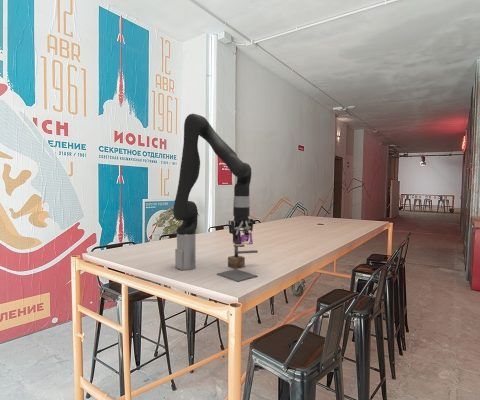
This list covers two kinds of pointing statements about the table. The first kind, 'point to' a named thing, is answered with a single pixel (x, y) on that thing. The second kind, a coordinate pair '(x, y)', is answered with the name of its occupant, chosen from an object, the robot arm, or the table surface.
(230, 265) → the block
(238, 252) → the t key
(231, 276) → the rubber mat
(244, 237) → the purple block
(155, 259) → the table surface
